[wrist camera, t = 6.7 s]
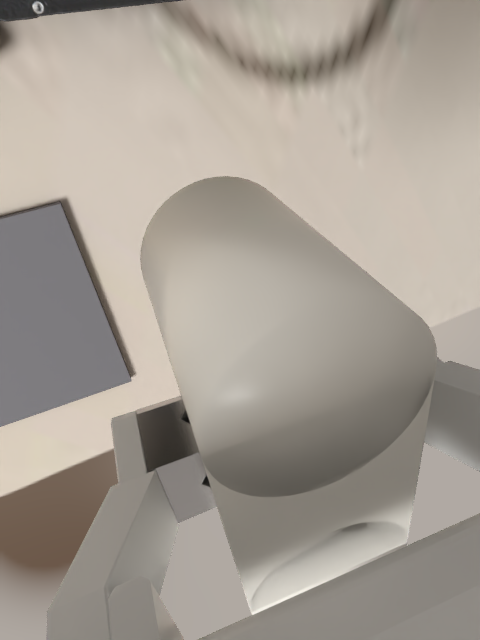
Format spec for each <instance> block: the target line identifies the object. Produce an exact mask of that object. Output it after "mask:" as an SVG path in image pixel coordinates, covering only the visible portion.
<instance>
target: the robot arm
mask: <svg viewBox="0 0 480 640" xmlns="http://www.w3.org/2000/svg"><path fill="white" fill-rule="evenodd" d="M111 428H112V436H113V444H114V452H115V460H116V468H117V476H118V484H116V485H114V486H111V488H110V490H109V492H108V494H107V496H106V497H105V500H104V501H103V503H102V505H101V507H100V509H99V511H98V513H97V515H96V517H95V519H94V521H93V523H92V525H91V527H90V529H89V531H88V533H87V535H86V537H85V539H84V541H83V543H82V544H81V546H80V549H79V550H78V552H77V554H76V556H75V558H74V560H73V562H72V564H71V566H70V568H69V570H68V572H67V574H66V576H65V578H64V580H63V582H62V584H61V586H60V588H59V590H58V592H57V594H56V595H55V598H54V599H53V602H52V603H51V605H50V607H49V609H48V611H47V640H184V639H183V636H182V634H181V633H180V631H179V629H178V628H177V626H176V624H175V622H174V621H173V619H172V617H171V616H170V614H169V612H168V610H167V609H166V607H165V605H164V604H163V602H162V600H161V599H160V597H159V595H160V592H161V589H162V585H163V582H164V578H165V574H166V571H167V567H168V564H169V560H170V556H171V553H172V549H173V546H174V542H175V539H176V535H177V532H178V528H179V524H178V523H180V522H182V521H184V520H187V519H189V518H191V517H194V516H196V515H198V514H201V513H203V512H205V511H207V510H210V509H212V508H215V507H217V505H216V502H215V499H214V496H213V493H212V490H211V486H210V483H209V480H208V477H207V474H206V471H205V468H204V464H203V461H202V458H201V455H200V452H199V449H198V446H197V443H196V440H195V436H194V433H193V430H192V427H191V424H190V421H189V418H188V415H187V412H186V409H185V406H184V402H183V399H182V396H179V397H176V398H172V399H169V400H166V401H163V402H160V403H157V404H154V405H150V406H147V407H144V408H141V409H138V410H136V411H133V412H130V413H127V414H124V415H121V416H117V417H114V418H112V422H111ZM424 443H426V444H428V445H430V446H432V447H434V448H436V449H438V450H440V451H441V452H443V453H445V454H447V455H449V456H451V457H453V458H455V459H457V460H458V461H460V462H462V463H464V464H466V465H468V466H470V467H472V468H473V469H475V470H477V471H479V472H480V370H479V369H475V368H472V367H469V366H465V365H462V364H459V363H455V362H452V361H448V362H445V363H444V362H443V361H441V360H440V359H439V358H438V357H437V365H436V373H435V379H434V385H433V391H432V397H431V403H430V409H429V415H428V421H427V427H426V433H425V439H424ZM198 640H480V513H479V514H477V515H475V516H473V517H470V518H468V519H466V520H464V521H462V522H459V523H457V524H455V525H452V526H450V527H448V528H446V529H444V530H441V531H439V532H437V533H435V534H432V535H430V536H428V537H426V538H423V539H421V540H419V541H417V542H414V543H412V544H410V545H408V546H406V547H403V548H401V549H399V550H397V551H394V552H392V553H390V554H388V555H385V556H383V557H381V558H379V559H376V560H374V561H372V562H370V563H368V564H365V565H363V566H361V567H359V568H356V569H354V570H352V571H350V572H347V573H345V574H343V575H341V576H338V577H336V578H334V579H332V580H330V581H327V582H325V583H323V584H321V585H318V586H316V587H314V588H312V589H309V590H307V591H305V592H303V593H300V594H298V595H296V596H294V597H292V598H289V599H287V600H285V601H283V602H280V603H278V604H276V605H274V606H271V607H269V608H267V609H265V610H263V611H260V612H258V613H256V614H254V615H251V616H249V617H247V618H245V619H243V620H240V621H238V622H236V623H234V624H231V625H229V626H227V627H225V628H222V629H220V630H218V631H216V632H213V633H212V634H209V635H207V636H205V637H202V638H200V639H198Z"/></svg>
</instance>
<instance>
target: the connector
mask: <svg viewBox="0 0 480 640" xmlns="http://www.w3.org/2000/svg"><path fill="white" fill-rule="evenodd" d="M140 260H141V270H142V274H143V278H144V281H145V284H146V288H147V291H148V294H149V297H150V300H151V303H152V306H153V309H154V313H155V316H156V319H157V322H158V325H159V328H160V331H161V334H162V338H163V341H164V344H165V347H166V350H167V353H168V356H169V359H170V362H171V366H172V369H173V372H174V375H175V378H176V381H177V384H178V387H179V391H180V394H181V396H182V399H183V402H184V406H185V409H186V412H187V415H188V418H189V421H190V424H191V427H192V430H193V433H194V436H195V440H196V443H197V446H198V449H199V452H200V455H201V458H202V461H203V464H204V468H205V471H206V474H207V477H208V480H209V483H210V486H211V490H212V493H213V496H214V499H215V502H216V505H217V509H218V512H219V514H220V518H221V521H222V524H223V527H224V530H225V533H226V537H227V539H228V543H229V546H230V549H231V552H232V555H233V558H234V561H235V564H236V567H237V571H238V574H239V577H240V580H241V583H242V586H243V589H244V592H245V595H246V599H247V602H248V605H249V608H250V611H251V613H252V615H254V614H256V613H258V612H260V611H263V610H265V609H267V608H269V607H271V606H274V605H276V604H278V603H280V602H283V601H285V600H287V599H289V598H292V597H294V596H296V595H298V594H300V593H303V592H305V591H307V590H309V589H312V588H314V587H316V586H318V585H321V584H323V583H325V582H327V581H330V580H332V579H334V578H336V577H338V576H341V575H343V574H345V573H347V572H350V571H352V570H354V569H356V568H359V567H361V566H363V565H365V564H368V563H370V562H372V561H374V560H376V559H379V558H381V557H383V556H385V555H388V554H390V553H392V552H394V551H397V550H399V549H401V548H403V547H406V545H407V540H408V535H409V529H410V523H411V517H412V511H413V504H414V499H415V493H416V487H417V481H418V475H419V469H420V462H421V457H422V451H423V445H424V439H425V433H426V427H427V421H428V415H429V409H430V403H431V397H432V391H433V385H434V379H435V373H436V365H437V350H436V344H435V340H434V337H433V335H432V333H431V331H430V329H429V327H428V325H427V324H426V323H425V322H424V320H423V319H422V318H421V317H420V316H418V315H417V314H416V313H415V312H414V311H412V310H411V309H410V308H409V307H408V306H406V305H405V304H404V303H403V302H402V301H400V300H399V299H398V298H397V297H396V296H394V295H393V294H392V293H391V292H390V291H388V290H387V289H386V288H385V287H384V286H382V285H381V284H380V283H379V282H378V281H376V280H375V279H374V278H373V277H372V276H370V275H369V274H368V273H367V272H366V271H364V270H363V269H362V268H361V267H360V266H358V265H357V264H356V263H355V262H354V261H352V260H351V259H350V258H349V257H348V256H346V255H345V254H344V253H343V252H342V251H340V250H339V249H338V248H337V247H336V246H334V245H333V244H332V243H331V242H330V241H328V240H327V239H326V238H325V237H324V236H322V235H321V234H320V233H319V232H318V231H316V230H315V229H314V228H313V227H311V226H310V225H309V224H308V223H307V222H305V221H304V220H303V219H302V218H301V217H299V216H298V215H297V214H296V213H295V212H293V211H292V210H291V209H290V208H289V207H287V206H286V205H285V204H284V203H283V202H281V201H280V200H279V199H278V198H277V197H275V196H274V195H273V194H272V193H271V192H269V191H268V190H267V189H266V188H264V187H262V186H261V185H259V184H257V183H255V182H252V181H250V180H247V179H243V178H239V177H229V176H223V177H213V178H207V179H203V180H200V181H197V182H194V183H192V184H190V185H188V186H186V187H184V188H182V189H181V190H179V191H178V192H176V193H175V194H174V195H172V196H171V197H170V198H169V199H168V200H166V201H165V202H164V204H163V205H162V206H161V207H160V208H159V209H158V210H157V212H156V213H155V215H154V216H153V218H152V219H151V221H150V223H149V225H148V227H147V229H146V232H145V235H144V237H143V241H142V246H141V257H140Z"/></svg>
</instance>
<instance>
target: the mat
mask: <svg viewBox="0 0 480 640" xmlns="http://www.w3.org/2000/svg"><path fill="white" fill-rule="evenodd" d="M128 382H131V377H130V375H129V372H128V370H127V367H126V365H125V362H124V360H123V357H122V355H121V352H120V350H119V347H118V345H117V342H116V340H115V337H114V335H113V332H112V330H111V327H110V325H109V322H108V320H107V317H106V315H105V312H104V310H103V307H102V305H101V302H100V300H99V297H98V295H97V292H96V290H95V287H94V285H93V282H92V280H91V277H90V275H89V272H88V270H87V267H86V265H85V262H84V260H83V257H82V255H81V252H80V250H79V247H78V245H77V242H76V240H75V237H74V235H73V232H72V230H71V227H70V225H69V222H68V220H67V217H66V215H65V212H64V210H63V207H62V205H61V202H56V203H52V204H49V205H45V206H41V207H37V208H33V209H29V210H25V211H22V212H18V213H14V214H10V215H6V216H2V217H0V427H1V426H4V425H7V424H10V423H13V422H16V421H19V420H21V419H24V418H27V417H30V416H33V415H36V414H39V413H42V412H44V411H47V410H50V409H53V408H56V407H59V406H62V405H65V404H67V403H70V402H73V401H76V400H79V399H82V398H85V397H88V396H90V395H93V394H96V393H99V392H102V391H105V390H108V389H111V388H113V387H116V386H119V385H122V384H125V383H128Z"/></svg>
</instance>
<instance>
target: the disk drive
mask: <svg viewBox="0 0 480 640" xmlns="http://www.w3.org/2000/svg"><path fill="white" fill-rule="evenodd" d="M173 1H181V0H0V21H1V20H2V21H15V20H26V19H33V18H37V17H39V16H45V15H53V14H62V13H63V14H65V13H71V12H83V11H91V10H100V9H101V10H102V9H108V8H119V7H127V6H139V5H144V4H154V3H163V2H173Z"/></svg>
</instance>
